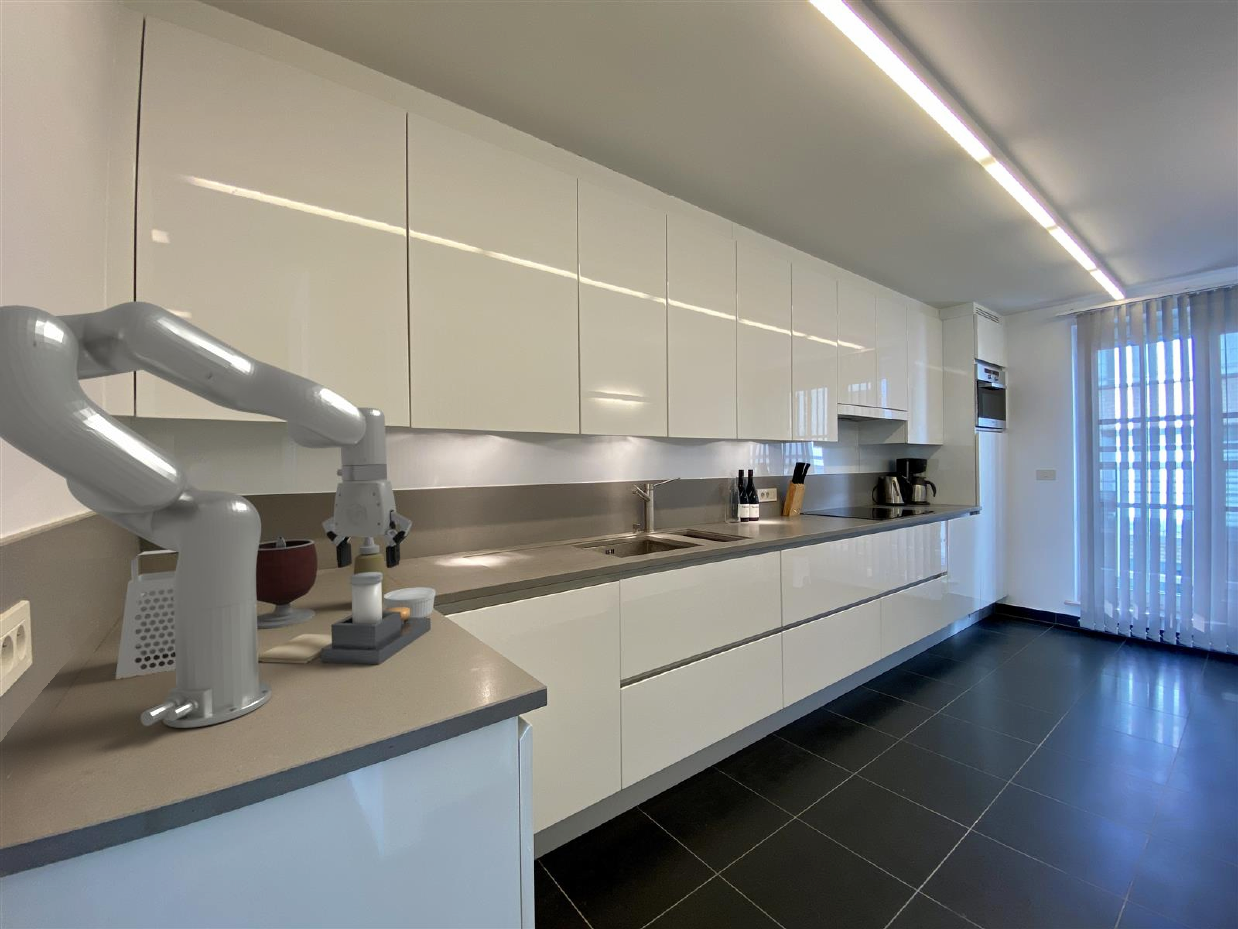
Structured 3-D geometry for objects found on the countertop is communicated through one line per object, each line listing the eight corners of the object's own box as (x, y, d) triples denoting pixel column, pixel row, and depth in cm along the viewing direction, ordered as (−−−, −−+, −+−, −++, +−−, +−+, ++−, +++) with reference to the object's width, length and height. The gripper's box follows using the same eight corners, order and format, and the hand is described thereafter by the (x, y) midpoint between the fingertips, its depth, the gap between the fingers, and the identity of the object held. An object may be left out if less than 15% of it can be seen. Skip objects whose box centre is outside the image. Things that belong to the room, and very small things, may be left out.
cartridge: (372, 645, 93) (371, 579, 93) (345, 644, 94) (343, 578, 94) (389, 634, 99) (388, 572, 99) (363, 633, 100) (361, 571, 99)
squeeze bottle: (348, 609, 124) (346, 534, 123) (356, 600, 132) (354, 530, 131) (385, 606, 126) (383, 533, 126) (390, 598, 134) (389, 528, 133)
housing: (379, 664, 91) (378, 628, 91) (321, 662, 92) (320, 626, 92) (430, 629, 109) (429, 599, 109) (381, 627, 110) (381, 597, 110)
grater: (195, 666, 91) (192, 553, 91) (115, 680, 86) (111, 560, 85) (207, 647, 100) (204, 544, 100) (135, 659, 95) (131, 550, 95)
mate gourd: (247, 617, 119) (245, 530, 119) (317, 607, 127) (315, 525, 126) (242, 636, 106) (239, 539, 106) (320, 623, 114) (318, 533, 113)
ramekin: (385, 611, 122) (385, 589, 122) (436, 606, 126) (435, 585, 126) (381, 626, 112) (380, 601, 112) (435, 620, 115) (435, 596, 115)
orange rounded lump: (402, 635, 104) (401, 614, 104) (379, 634, 104) (379, 613, 104) (414, 627, 109) (414, 607, 108) (393, 626, 109) (392, 606, 109)
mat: (305, 663, 92) (305, 659, 92) (254, 661, 93) (254, 656, 93) (349, 639, 104) (349, 635, 104) (303, 637, 105) (303, 633, 105)
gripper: (307, 476, 93) (312, 570, 94) (397, 475, 91) (401, 571, 92) (335, 474, 101) (339, 561, 102) (419, 472, 99) (422, 561, 99)
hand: (368, 566), depth 97 cm, fingers open, 9 cm apart
